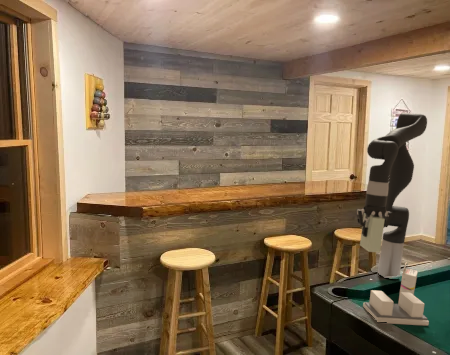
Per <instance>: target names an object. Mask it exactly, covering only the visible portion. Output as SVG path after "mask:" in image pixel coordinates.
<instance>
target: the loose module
mask: <svg viewBox="0 0 450 355" xmlns="http://www.w3.org/2000/svg"><path fill="white" fill-rule="evenodd" d="M365 216H366V214H365V213H364V212H363V216H362V217H363V221H364V218H365ZM367 219H368V218H367ZM384 220H385V219H384V218H382V217H370V222H369V225H368V227H367V228H368V232H367V237H364V236H363V234H362V232H361V234H360V242H359V246H360V247H362V248H363V249H364V250H365V251H367V252H368V253H379V254H380V253H381V246H382V239H383V234H384V228H385V227H384ZM362 228H363V226H361V229H362Z"/></svg>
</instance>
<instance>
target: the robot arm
mask: <svg viewBox="0 0 450 355" xmlns="http://www.w3.org/2000/svg"><path fill="white" fill-rule="evenodd" d="M396 120H397V121H396V127H395V129H392V130H391V131H389V132H388V133H387V134H386V135H383V136H380V137H377V138H375V139H373V140H371V142H370V143H369V144H368V145H367V148H366V151H367V155H368V156H369V157H370V158H372V159H374V160H384V161H383V162H382V163H381V164H377V165H372V166H371V167H370V169H369V173H368V174H369V176H368V181H367V182H368V183H367V186H366V191H365V192H366V194H365V201H364V206H363V208H362V209H359V208H356V210H355V212H356V218H357V225H360V226H361V233H362V234H363V236H364V237H367V232H368V228H367V227H368V225H369V222H370V217H382V218H384V219H385V220H384V228H388V227H389V226H391V227H396V228H395V229H393V230H390V231H386V232H383V235H382V242H381V250H380V253H379V258H378V265H377V266H378V267H377V268H378V269H377V274H378V273H379V274H381V275H385V276H397V275H399V276H401V275H400V274H401V269H402V268H401V267H402V261H403V260H402V259H403V254H404V253H403V252H404V246H405V238H406V235H407V229H408V228H407V227H408V224H409V219H410V210H409V208H407V207H405V206H397V205H394V203H395V201H396V199H397V197H398V196H399V195H400V194H401V192H403V191H404V190H405V189H406V188H407V187H408V186H409V185H410V183H411V182H412V180H413V175H414V170H415V164H414V161H413V158H412V156H411V155H410V153H409V150H408V148H407V142H409V141H411V140H413V139H416V138H418V137H420V136H422V135H423V134H424V133H425V131H426V130H427V125H428V117H427V116H426V115H424V114H421V113H414V112H411V113H410V112H401V113H400V114H399V115H398V117H397V119H396ZM364 213H365V214H366V216H365V218H364V221H363V217H364ZM367 218H368V219H367ZM362 226H363V228H362Z"/></svg>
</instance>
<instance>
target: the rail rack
mask: <svg viewBox="0 0 450 355" xmlns="http://www.w3.org/2000/svg"><path fill="white" fill-rule="evenodd" d="M399 294H400V296H398V303H394V301H393V300H392V299H391V297H389V296H388V295H387V294H386V293H385V292H384V291H382V290H375V289H374V290H373V289H372V290H371V289H370V295H369V296H370V297H369V301H368V302H367V301H365V302H363V304H362V307H363V308H364V309H365V311H366V312H367V313H368V312H369V313H370V314H371V315H372V316H373V317H374V318H375V319H376V320H377V322H387V323H386V324H394V325H413V326H429V324H430V323H429V322H430V321H429V320H428V317H426V315H424V309H425V303H424V302H423V301H422V300H421V299H419V298H418V297H416V296H415V294H414V295H413V294H412V293H408V292H400V291H399ZM370 314H369V315H370ZM371 315H370V316H371ZM372 316H371V317H372ZM373 317H372V318H373ZM374 318H373V319H374ZM375 319H374V320H375ZM377 322H376V323H377Z"/></svg>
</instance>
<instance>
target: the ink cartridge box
mask: <svg viewBox="0 0 450 355" xmlns="http://www.w3.org/2000/svg"><path fill="white" fill-rule="evenodd" d="M407 262H408V261H406V262H405V264H404V266H403V269H402V275H401V280H400V289H399V296H400V292H408V293H412V294H413V295H414V296H415V288H416V285H417V284H416V283H417V279H418V278H417V277H418V270H415V269H411V268H407ZM399 296H398V297H399Z"/></svg>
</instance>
